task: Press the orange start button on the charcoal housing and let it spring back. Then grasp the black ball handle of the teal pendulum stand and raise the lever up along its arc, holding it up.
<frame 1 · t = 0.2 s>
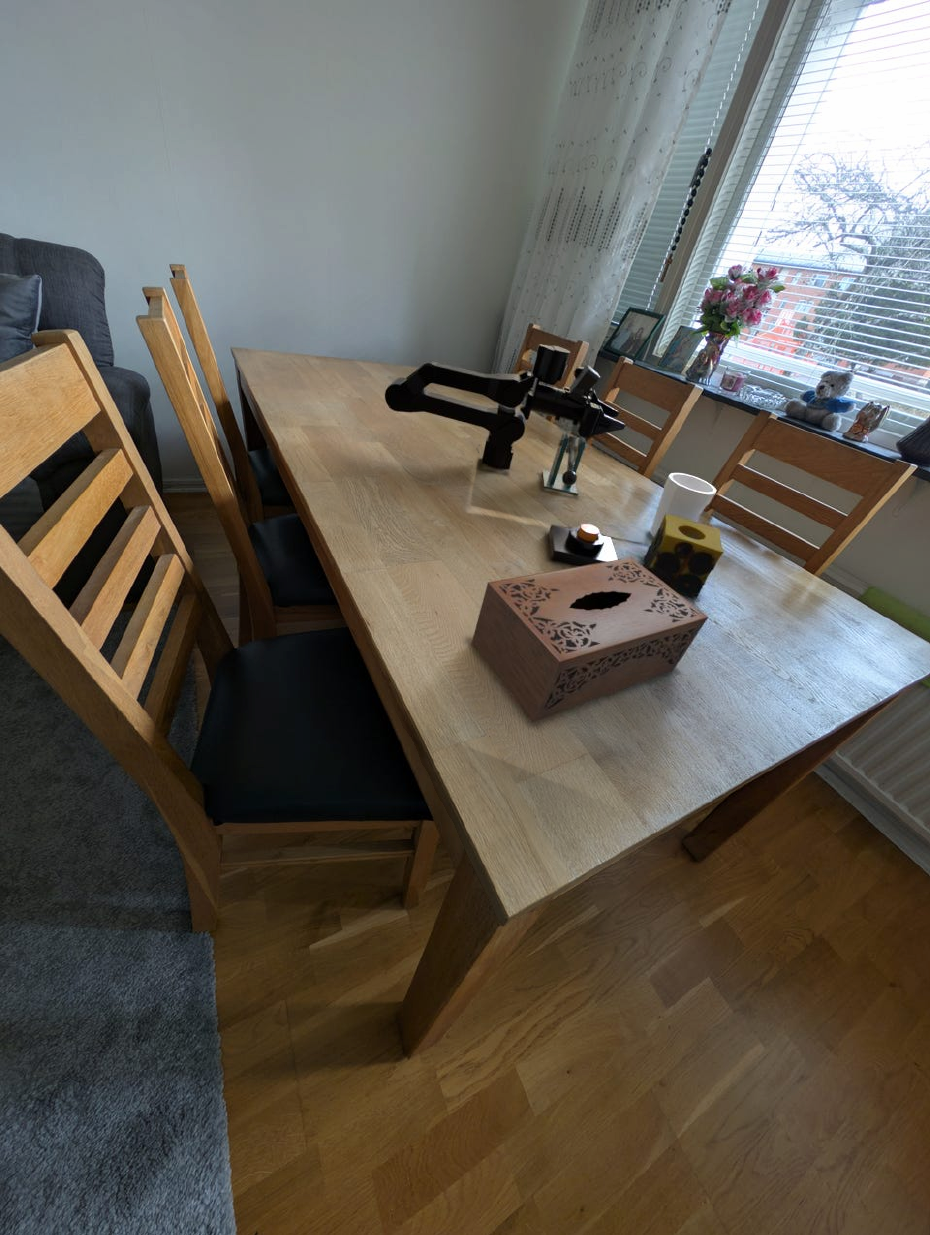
hand: (621, 420, 107), 17 cm above the table, tool horizontal, fingers open, 9 cm apart
yellow cube tissue box: (668, 578, 90), on the table
button: (588, 532, 88), point 4 cm above the table, slide at 0.1 cm
tissue box cover: (574, 657, 67), on the table
lever: (570, 461, 107), point 8 cm above the table, hinge at -25.0°
foam cup: (662, 540, 103), on the table
teal pendulum stand: (558, 486, 115), on the table
button box: (580, 553, 91), on the table
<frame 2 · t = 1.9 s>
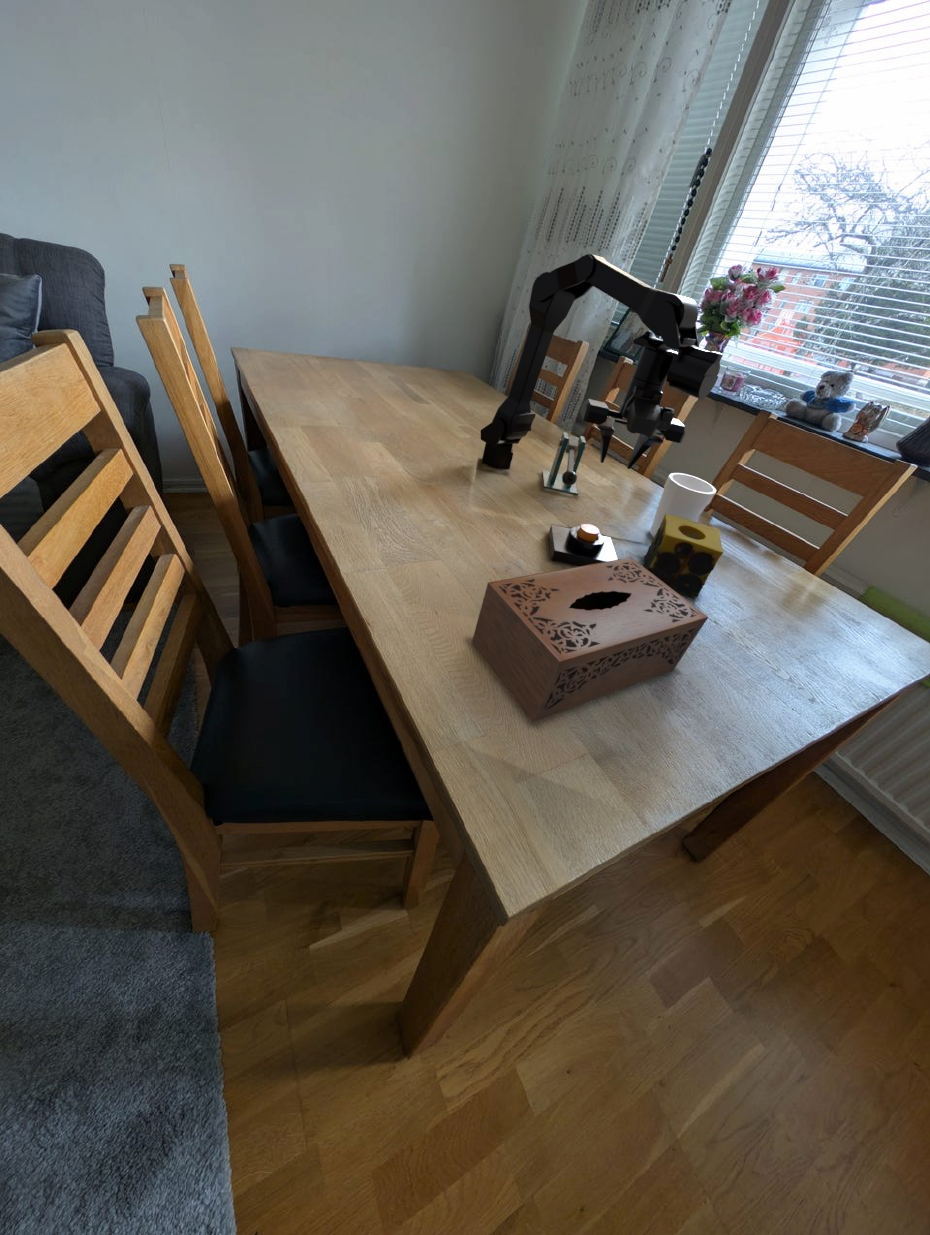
hand: (614, 465, 94), 13 cm above the table, tool pointing down, fingers open, 5 cm apart
nothing on the table moved.
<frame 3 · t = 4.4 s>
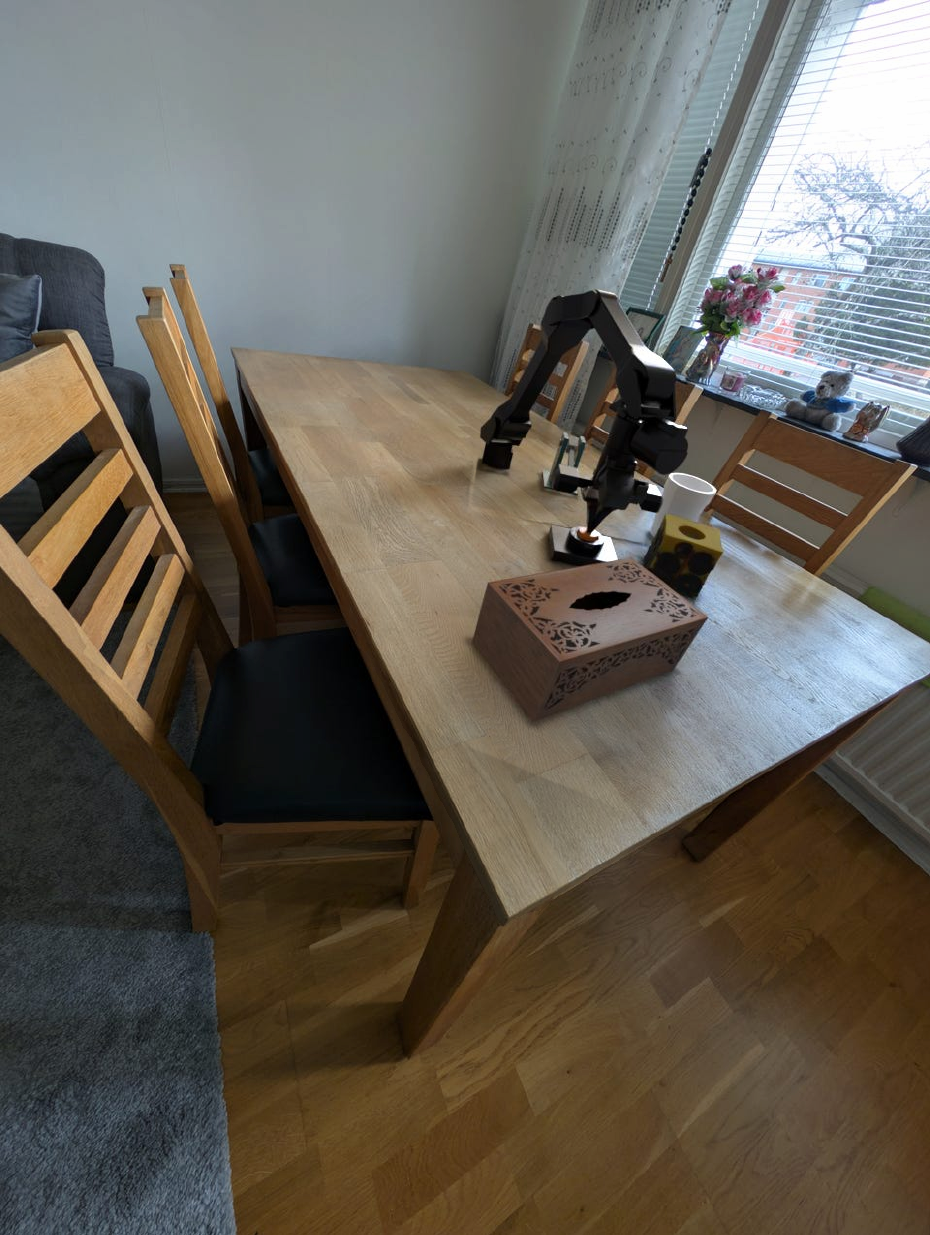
hand: (588, 531, 88), 5 cm above the table, tool pointing down, fingers closed, pressing on button
button: (587, 535, 88), point 4 cm above the table, slide at -0.5 cm, touching gripper
everything else where it was.
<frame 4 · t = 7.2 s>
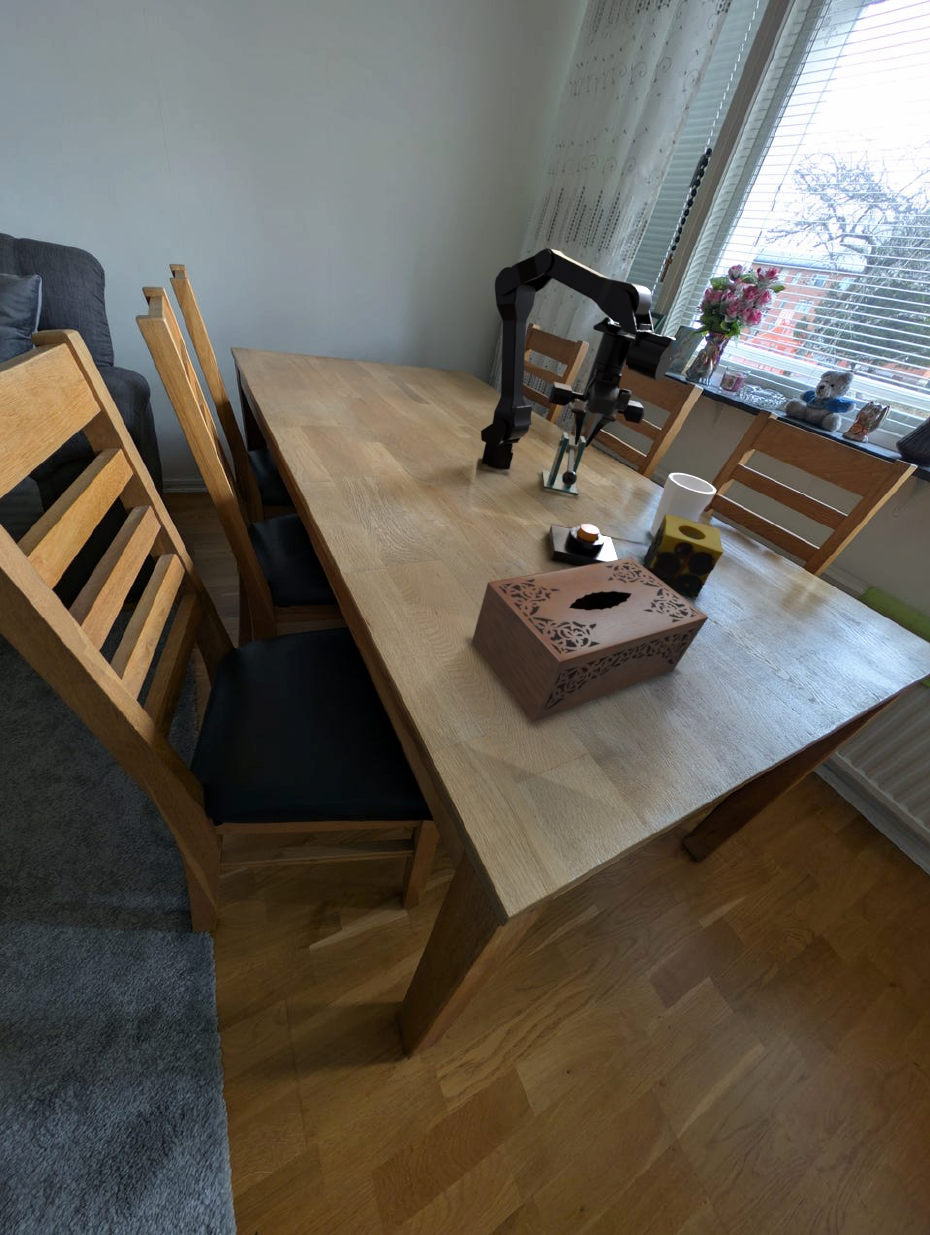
hand: (580, 445, 100), 13 cm above the table, tool pointing down, fingers closed
button: (588, 532, 88), point 4 cm above the table, slide at 0.1 cm
everything else where it was.
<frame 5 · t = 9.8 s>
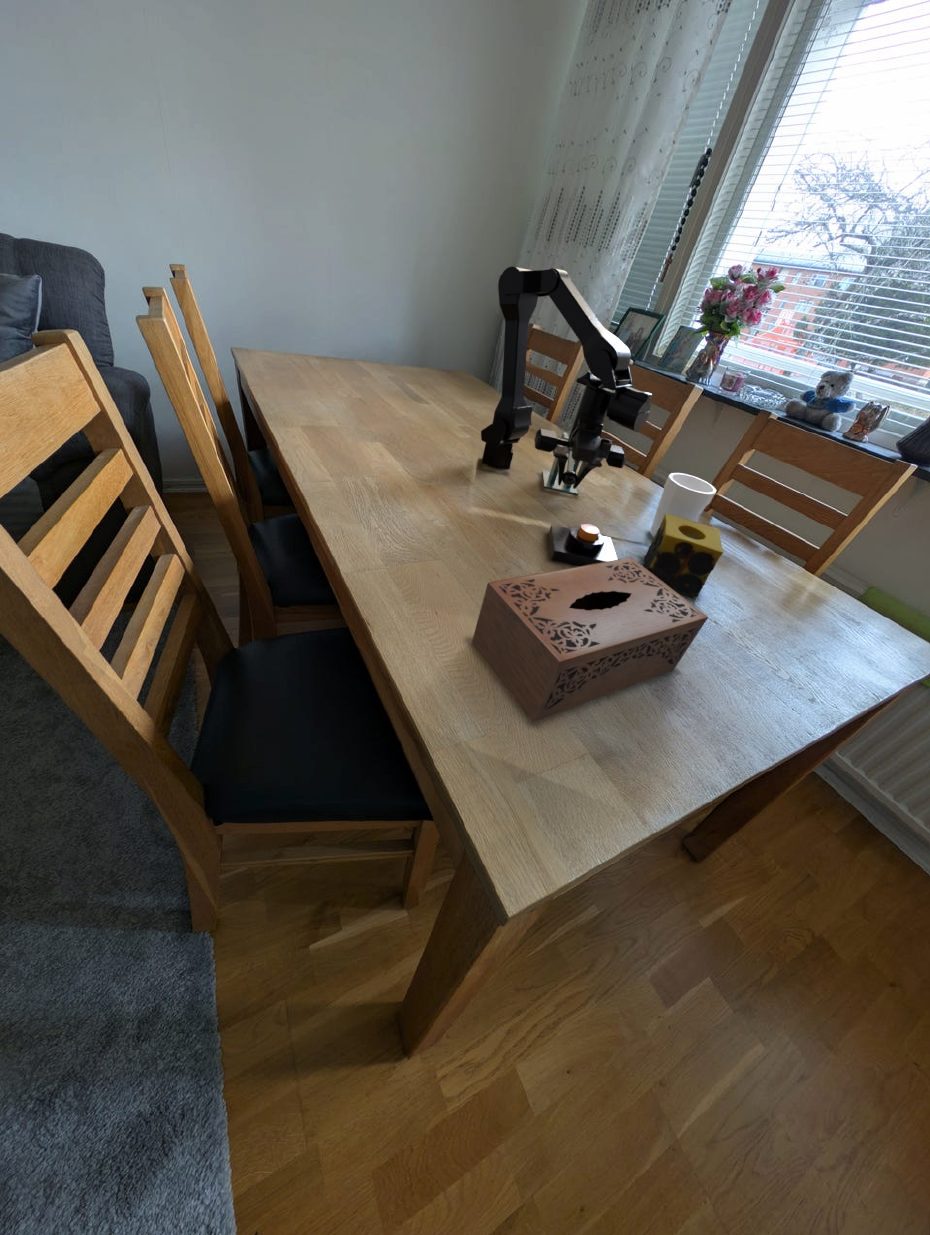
hand: (566, 486, 106), 4 cm above the table, tool pointing down, fingers closed on lever, 3 cm apart
lever: (570, 461, 107), point 8 cm above the table, hinge at -25.0°, touching gripper
everything else where it was.
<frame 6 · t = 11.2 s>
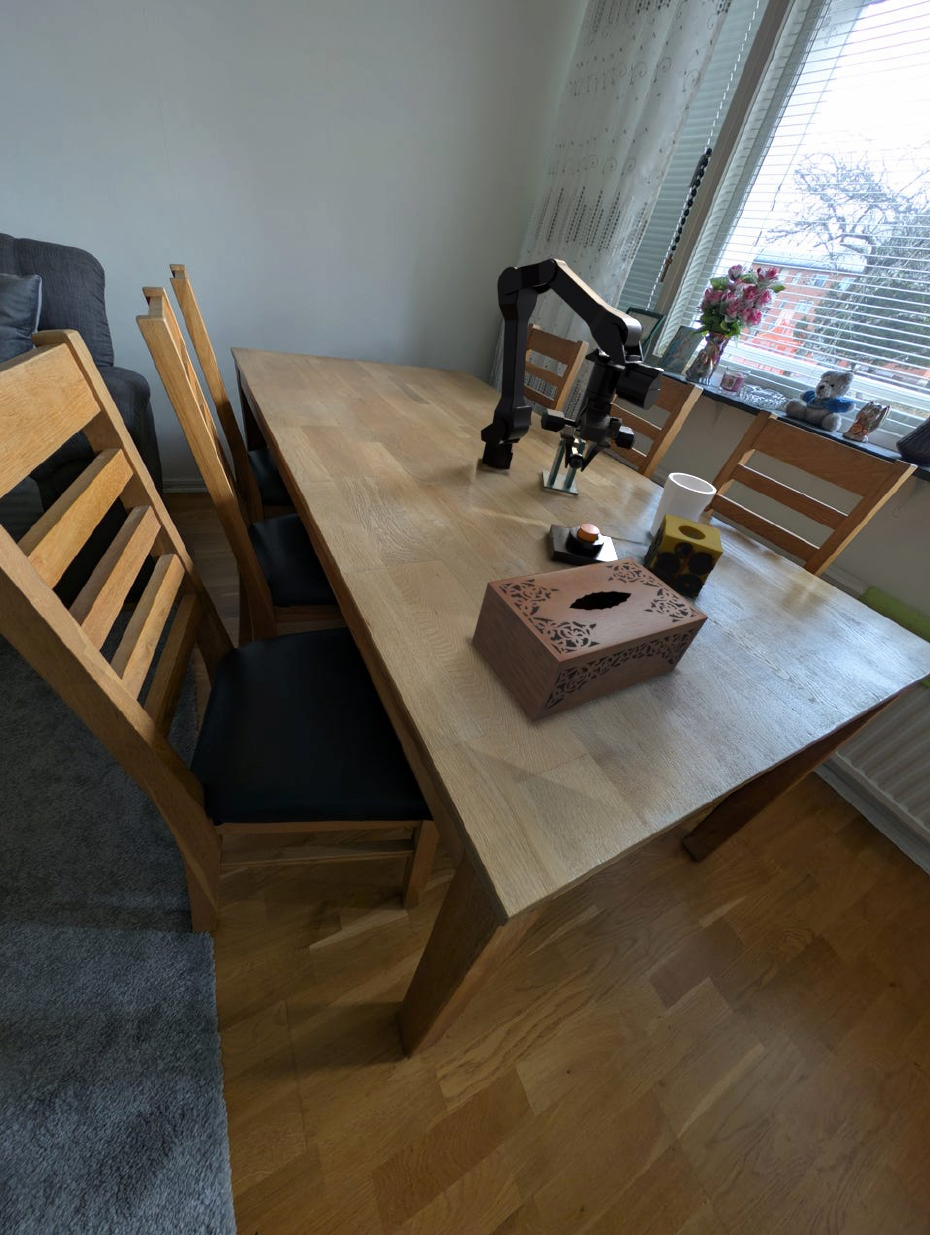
hand: (573, 469, 102), 8 cm above the table, tool pointing down, fingers closed on lever, 3 cm apart
lever: (574, 453, 105), point 10 cm above the table, hinge at -0.5°, touching gripper
everything else where it was.
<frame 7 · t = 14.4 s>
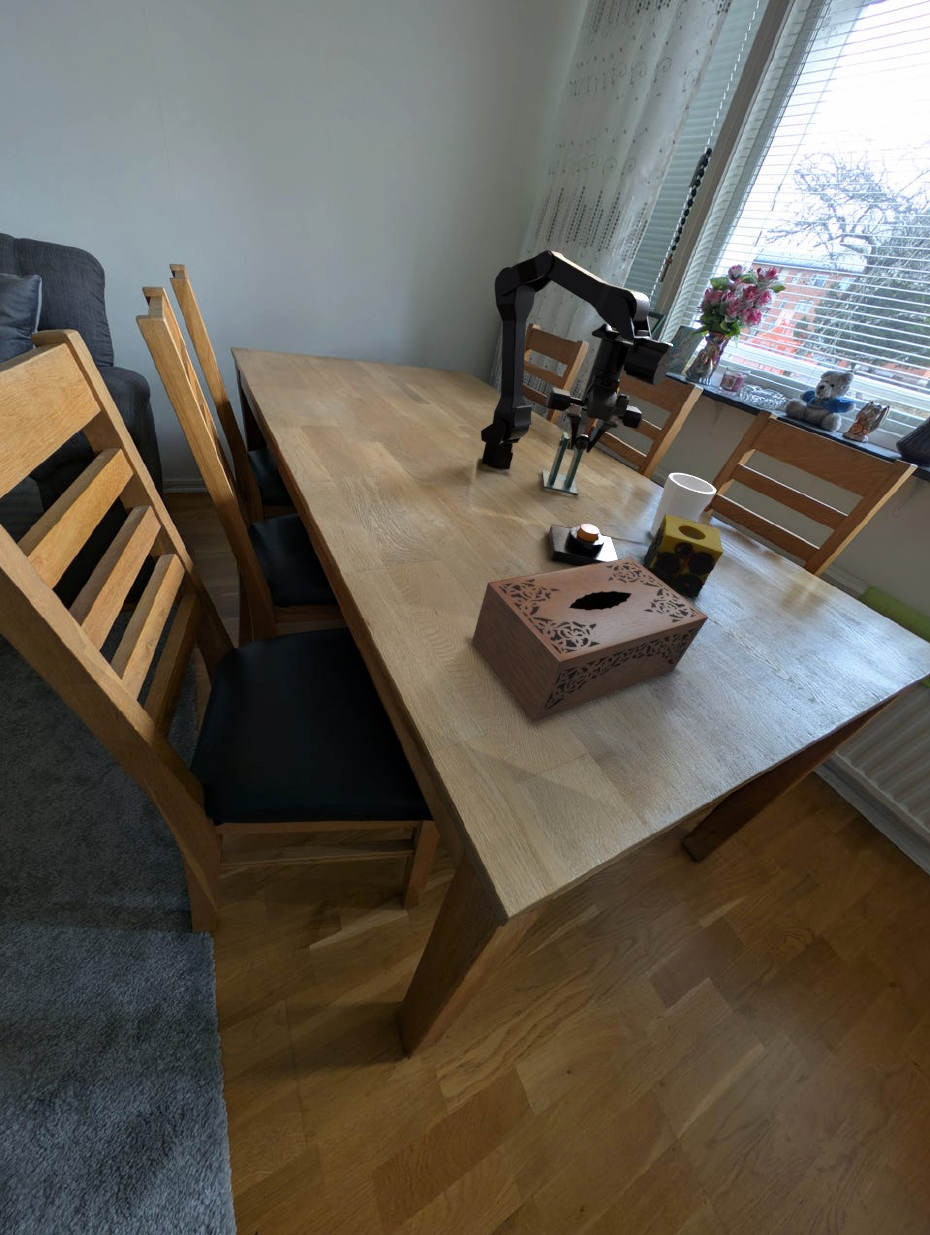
hand: (579, 450, 100), 12 cm above the table, tool pointing down, fingers closed on lever, 3 cm apart
lever: (576, 443, 104), point 12 cm above the table, hinge at 21.5°, touching gripper
everything else where it was.
at the end: lever at +22° (first picture: -25°); button pushed in 1.1 cm at the most during the clip, back to where it started at the end; button slide at 0.1 cm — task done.
